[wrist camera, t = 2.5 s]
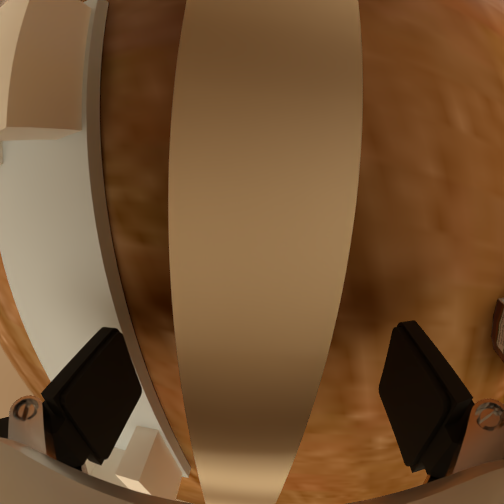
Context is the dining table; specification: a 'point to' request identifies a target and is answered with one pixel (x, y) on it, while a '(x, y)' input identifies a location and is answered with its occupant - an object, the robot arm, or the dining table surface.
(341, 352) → the dining table surface
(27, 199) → the frame
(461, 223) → the dining table surface
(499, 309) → the food container
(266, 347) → the slat
